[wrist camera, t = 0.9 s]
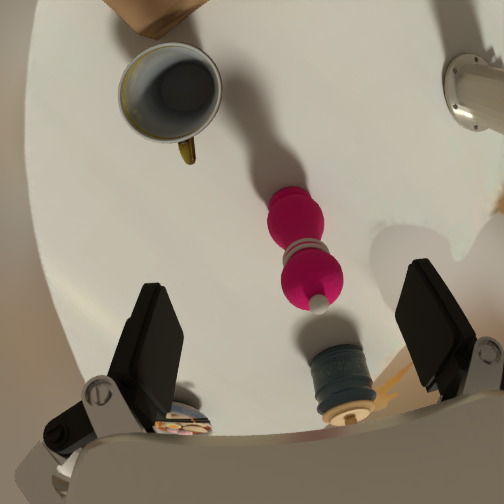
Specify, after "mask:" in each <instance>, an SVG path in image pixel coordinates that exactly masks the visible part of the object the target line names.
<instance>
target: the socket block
mask: <svg viewBox="0 0 504 504" xmlns="http://www.w3.org/2000/svg"><path fill="white" fill-rule="evenodd" d="M103 1H104V2H105V3H106V4H107V5H108V6H109V7H110V8H112V9H113V10H114V11H115V12H116V13H117V14H118V15H119V16H120V17H121V18H122V19H123V20H124V21H125V22H126V23H127V24H128V25H129V26H130V27H131V28H132V29H134V30H135V31H136V32H137V33H138V34H139V35H142V36H146V37H149V38H152V39H155V40H159V39H160V38H161V37H162V36H163V35H165V34H166V33H167V32H168V31H169V30H170V29H172V28H173V27H174V26H175V25H177V24H178V23H179V22H180V21H182V20H183V19H184V18H186V17H187V16H188V15H190V14H191V13H192V12H194V11H195V10H196V9H198V8H199V7H200V6H202V5H203V4H205V3H206V2H208V1H209V0H103Z"/></svg>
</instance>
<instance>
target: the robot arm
mask: <svg viewBox="0 0 504 504" xmlns="http://www.w3.org/2000/svg"><path fill="white" fill-rule="evenodd" d="M444 88H445V97H446V101H447V104H448V107H449V110H450V112H451V114H452V115H453V117H454V118H455V120H456V121H457V122H458V123H459V124H460V125H461V126H463V127H464V128H466V129H469V130H471V131H474V132H480V131H484V130H486V129H488V128H490V129H492V130H494V131H496V132H499V133H501V134H503V135H504V69H502V68H497V67H492V66H490V65H489V64H488V63H487V62H486V61H485V60H484V59H483V58H481V57H479V56H477V55H474V54H461V55H459V56H457V57H455V58H454V59H453V60H452V61H451V63H450V64H449V66H448V69H447V71H446V75H445V84H444ZM395 318H396V322H397V324H398V326H399V329H400V331H401V333H402V336H403V338H404V341H405V343H406V345H407V348H408V350H409V353H410V355H411V358H412V361H413V363H414V366H415V369H416V371H417V374H418V376H419V379H420V382H421V385H422V386H423V387H426V390H427V392H428V393H429V392H432V391H435V390H439V392H440V397H439V400H438V402H437V403H436V404H433V405H430V406H427V407H423V408H420V409H416V410H413V411H409V412H406V413H402V414H398V415H394V416H390V417H386V418H382V419H377V420H373V421H368V422H363V423H358V424H353V425H347V426H341V427H336V428H329V429H321V430H314V431H305V432H296V433H285V434H271V435H251V436H203V435H178V434H164V433H158V432H157V430H156V429H155V427H154V425H155V422H156V419H162V420H166V415H167V413H170V412H171V408H172V402H173V396H174V390H175V384H176V378H177V373H178V367H179V362H180V356H181V351H182V346H183V340H184V335H183V331H182V328H181V326H180V324H179V321H178V319H177V316H176V314H175V311H174V309H173V306H172V304H171V301H170V299H169V296H168V293H167V291H166V288H165V287H164V286H161V285H160V284H159V283H145V284H144V285H143V287H142V289H141V292H140V294H139V297H138V299H137V302H136V304H135V307H134V309H133V312H132V315H131V317H130V318H128V319H127V321H126V323H125V326H124V329H123V331H122V334H121V337H120V339H119V342H118V345H117V348H116V351H115V354H114V357H113V359H112V362H111V365H110V368H109V371H108V374H107V376H105V375H100V376H96V377H93V378H91V379H90V380H89V381H88V382H87V383H86V384H85V386H84V387H83V390H82V395H81V396H82V400H81V401H80V402H78V403H77V404H75V405H74V406H72V407H71V408H69V409H68V410H66V411H65V412H63V413H62V414H60V415H59V416H57V417H56V418H54V419H53V420H51V421H50V422H49V423H48V424H47V425H46V427H45V429H44V433H43V439H44V441H43V442H40V441H39V442H38V443H37V444H36V445H35V447H34V448H33V449H32V450H31V451H30V453H29V454H28V455H27V456H26V457H25V459H24V460H23V461H22V462H21V464H20V465H19V466H18V467H17V469H16V471H15V481H16V483H17V485H18V487H19V488H20V490H21V491H22V493H23V494H24V495H25V497H26V498H27V500H28V501H29V502H30V504H504V351H503V348H502V346H501V345H500V343H499V342H497V341H496V340H495V339H493V338H491V337H481V338H479V339H478V340H477V338H476V334H475V332H474V330H473V328H472V327H471V325H470V323H469V321H468V319H467V318H466V316H465V314H464V313H463V311H462V309H461V308H460V306H459V305H458V303H457V302H456V300H455V298H454V297H453V295H452V293H451V292H450V290H449V289H448V287H447V286H446V284H445V283H444V281H443V280H442V278H441V277H440V275H439V274H438V272H437V271H436V269H435V268H434V266H433V265H432V264H431V262H430V261H429V260H428V259H427V258H423V259H416V260H413V262H412V264H410V265H409V266H408V270H407V274H406V278H405V281H404V285H403V288H402V292H401V295H400V299H399V302H398V305H397V308H396V311H395Z"/></svg>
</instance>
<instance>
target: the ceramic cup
mask: <svg viewBox="0 0 504 504" xmlns="http://www.w3.org/2000/svg"><path fill="white" fill-rule="evenodd" d="M221 99H222V80H221V76H220V73H219V70H218V68H217V66H216V65H215V63H214V62H213V60H212V59H211V58H210V57H209V56H208V55H207V54H206V53H205V52H203V51H202V50H201V49H199V48H197V47H195V46H192V45H190V44H186V43H181V42H166V43H161V44H157V45H154V46H152V47H150V48H148V49H146V50H144V51H143V52H141V53H140V54H138V55H137V56H136V57H135V58H134V59H133V60H132V61H131V62H130V64H129V65H128V66H127V68H126V69H125V71H124V73H123V75H122V78H121V81H120V84H119V89H118V102H119V108H120V111H121V114H122V116H123V118H124V120H125V121H126V123H127V124H128V126H129V127H130V128H131V129H132V130H133V131H134V132H135V133H137V134H138V135H140V136H141V137H143V138H145V139H147V140H150V141H153V142H158V143H176V142H178V146H179V150H180V153H181V156H182V158H183V160H184V161H185V162H186V163H187V164H189V165H192V164H194V163H195V160H196V155H195V146H194V136H195V135H197V134H198V133H200V132H201V131H202V130H204V129H205V128H206V127H207V126H208V125H209V123H210V122H211V121H212V120H213V118H214V117H215V115H216V113H217V111H218V109H219V106H220V103H221Z"/></svg>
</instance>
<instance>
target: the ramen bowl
mask: <svg viewBox="0 0 504 504" xmlns="http://www.w3.org/2000/svg"><path fill="white" fill-rule="evenodd" d="M154 427H155V429H156V430H157V432H158V433H164V434H178V435H203V436H211V435H212V434H213V433H214V431H213V428H212V425H211V423H210V421H209V420H208V418H207V417H206V416H205V415H204V414H202V413H201V412H200V411H198V410H197V409H195V408H193V407H191V406H189V405H186V404H184V403H181V402H176V401H173V402H172V408H171V412H170V413H167V415H166V420H162V419H156V422H155V425H154Z"/></svg>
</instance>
